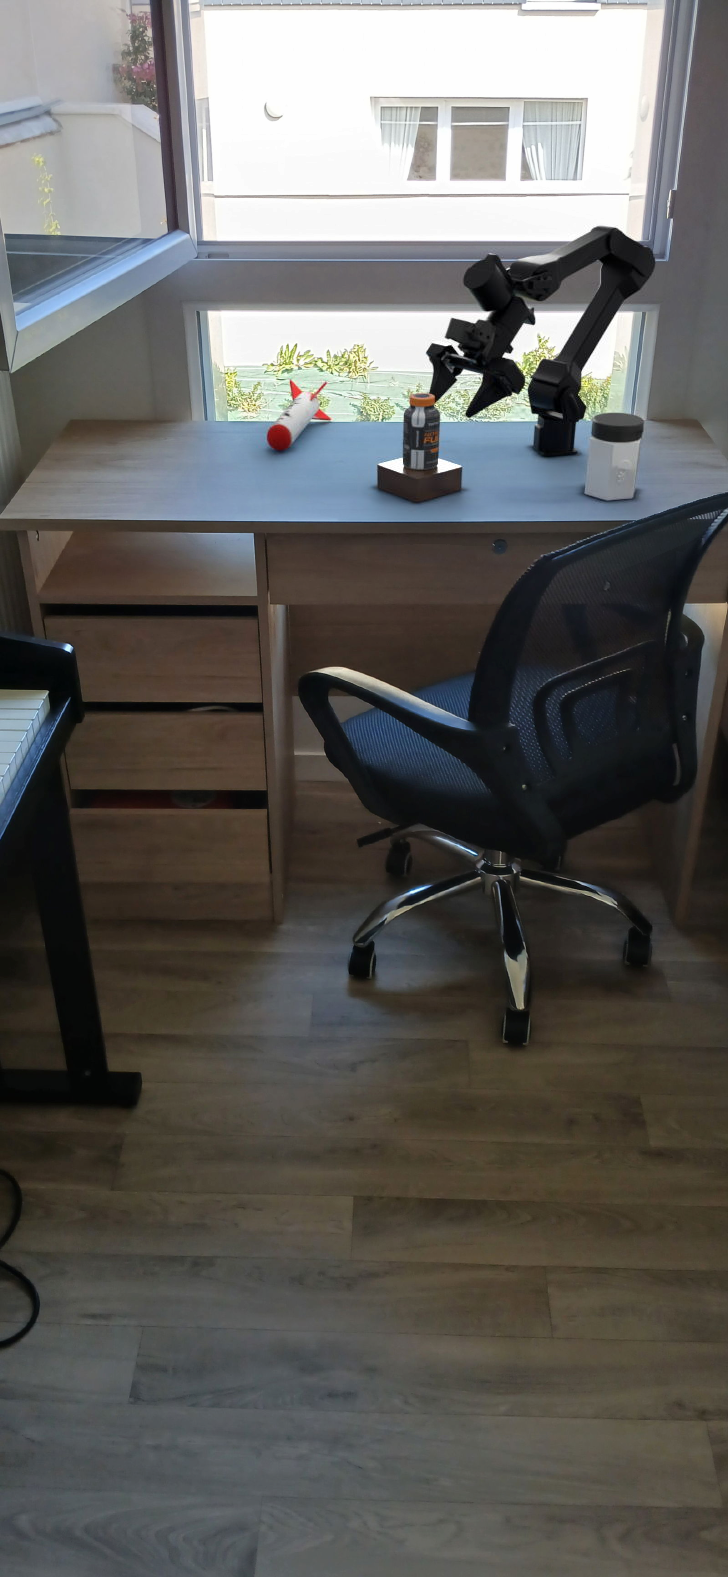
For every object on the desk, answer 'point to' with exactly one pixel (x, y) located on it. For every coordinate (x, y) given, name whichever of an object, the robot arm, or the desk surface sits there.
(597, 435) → the jar
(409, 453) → the pill bottle
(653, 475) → the desk surface
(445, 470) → the block
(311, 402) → the model rocket
